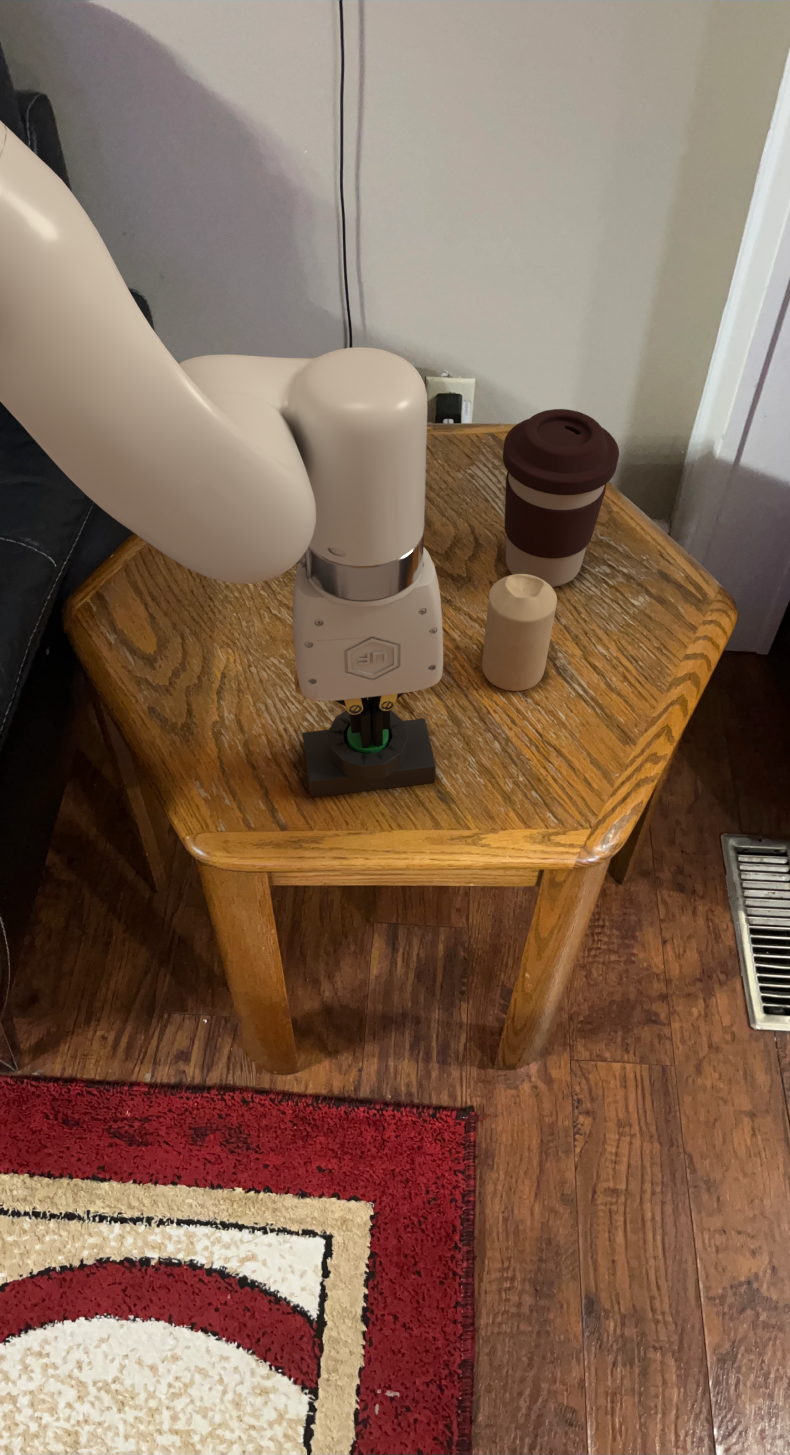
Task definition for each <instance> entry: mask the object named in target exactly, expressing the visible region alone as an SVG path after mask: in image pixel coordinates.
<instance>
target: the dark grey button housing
mask: <svg viewBox="0 0 790 1455" xmlns="http://www.w3.org/2000/svg"><path fill="white" fill-rule="evenodd" d="M349 727H350V719H349V713H348V712H347V709H346V710H345V711H343V712H341V713H339V714H338V715H336V716H335V718H334V720H333V722H332V723H331V725H330V726H329V728H328V729H319V730H311V731H303V732H302V741H303V749H304V750H303V751H304V759H305V768H306V775H307V782H308V784H307V785H308V792H309V798H319V797H320V798H321V797H328V796H335V795H345V794H352V793H359V792H361V793H362V792H368V791H376V790H384V789H393V788H401V787H402V788H403V787H410V786H418V785H424V784H426V785H427V784H433V783H434V784H435V782H436V770H437V769H436V768H437V765H436V760H435V757H434V753H433V747H432V744H431V739H430V735H429V734H430V733H429V731H428V726H427V721H426V718H425V717H424V718H423V717H422V718H416V719H415V718H414V719H406V720H403V719H402V718H401V717H400V716H399V715H397V714H396V713H395V712H394V711H393V709H392V710H390V729H388V747H386V748H385V749H383V750H381V751H380V752H378V753H371V754H362V753H359V752H355V751H352V750H351V749H350V748H349V747H348V738H347V732H348V729H349Z"/></svg>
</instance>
